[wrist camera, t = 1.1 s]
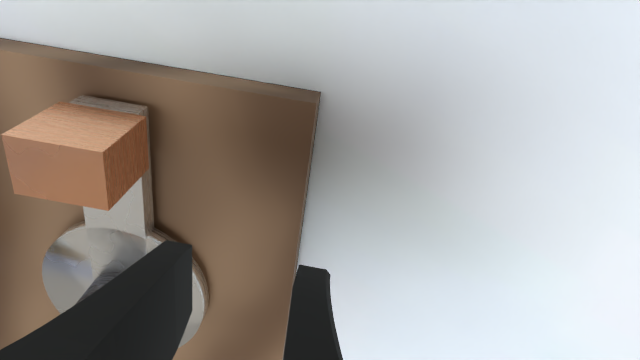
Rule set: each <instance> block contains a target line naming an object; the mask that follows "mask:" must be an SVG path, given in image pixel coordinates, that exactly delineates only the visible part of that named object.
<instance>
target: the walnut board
mask: <svg viewBox="0 0 640 360" xmlns="http://www.w3.org/2000/svg"><path fill="white" fill-rule="evenodd" d="M320 94H321V92H317V91H311V90H305V89H299V88H293V87H287V86H281V85H275V84H269V83H263V82H257V81H252V80H246V79H240V78H234V77H228V76H222V75H216V74H210V73H204V72H198V71H192V70H186V69H180V68H174V67H168V66H162V65H156V64H150V63H145V62H139V61H133V60H127V59H121V58H115V57H109V56H103V55H97V54H91V53H85V52H79V51H73V50H67V49H61V48H55V47H49V46H44V45H38V44H32V43H26V42H20V41H14V40H8V39H2V38H0V350H1V349H3V348H4V347H6V346H8V345H10V344H12V343H14V342H15V341H17V340H19V339H21V338H23V337H24V336H26V335H28V334H29V333H31V332H33V331H34V330H36V329H38V328H40V327H41V326H43V325H44V324H46V323H48V322H49V321H51V320H52V319H54V318H55V317H57V316H59V315H60V313H59V311H58V310H57V309H56V308H55V306H54V305H53V303H52V301H51V300H50V298H49V296H48V294H47V292H46V289H45V286H44V283H43V277H42V264H43V260H44V257H45V254H46V252H47V250H48V249H49V248H50V246H51V245H52V244H53V243H54V242H55V241H56V240H57V239H58V238H59V237H60V236H61V235H62V234H63V233H64V232H65V231H66V230H67V229H68V228H70V227H71V226H73V225H74V224H76V223H78V222H81V221H83V220H85V217H84V210H83V206H79V205H73V204H68V203H62V202H57V201H51V200H46V199H40V198H35V197H29V196H24V195H19V194H14V190H13V185H12V181H11V176H10V172H9V168H8V163H7V159H6V154H5V150H4V145H3V141H2V136H1V134H3V133H5V132H7V131H8V130H10V129H12V128H14V127H15V126H17V125H19V124H21V123H23V122H24V121H26V120H28V119H30V118H31V117H33V116H35V115H37V114H38V113H40V112H42V111H44V110H46V109H47V108H49V107H51V106H53V105H54V104H56V103H58V102H66V103H69V102H71V101H73V100H74V99H76V98H78V97H79V96H81V95H84V96H89V97H95V98H101V99H107V100H113V101H118V102H124V103H130V104H136V105H142V106H147V107H148V118H149V137H150V156H151V175H152V194H153V213H154V228H156V229H158V230H160V231H161V232H163V233H165V234H167V235H168V236H170V237H171V238H172V239H174V240H175V241H176V242H179V243H185V244H190V245H192V257H193V259H194V260H195V261H196V263H197V264H198V266H199V267H200V269H201V271H202V273H203V275H204V277H205V280H206V283H207V287H208V295H209V300H208V307H207V310H206V313H205V316H204V318H203V320H202V322H201V324H200V326H199V328H198V330H197V332H196V334H195V335H194V336H193V337H192V339H190V340H189V341H188V342H187V343H186V344H184V345H182V346H181V347H179V348H178V349H177V351H176V353H175V355H174V357H173V359H172V360H283V355H284V348H285V340H286V333H287V325H288V318H289V311H290V303H291V296H292V288H293V284H294V281H295V277H296V269H297V262H298V255H299V247H300V240H301V233H302V226H303V218H304V211H305V204H306V196H307V189H308V182H309V175H310V167H311V160H312V153H313V145H314V138H315V131H316V124H317V116H318V109H319V102H320Z"/></svg>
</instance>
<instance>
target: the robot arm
mask: <svg viewBox="0 0 640 360" xmlns="http://www.w3.org/2000/svg"><path fill="white" fill-rule="evenodd" d="M191 313H192V245H190V244H185V243H179V242H174V241H168V240H166V241H164V242H163V243H161V244H160V245H158V246H157V247H156V248H154V249H153V250H152V251H150V252H149V253H147V254H146V255H145V256H143V257H142V258H141V259H139V260H138V261H137V262H135V263H134V264H133V265H131V266H130V267H129V268H127V269H126V270H124V271H123V272H122V273H120V274H119V275H118V276H116V277H115V278H113V279H112V280H111V281H109V282H108V283H106V284H105V285H103V286H102V287H101V288H99V289H98V290H96V291H95V292H94V293H92V294H91V295H89V296H88V297H86V298H85V299H83V300H82V301H80V302H79V303H77V304H76V305H74V306H73V307H71V308H69V309H68V310H66V311H65V312H63V313H62V314H60V315H59V316H57V317H55V318H54V319H52V320H51V321H49V322H48V323H46V324H44V325H43V326H41V327H40V328H38V329H36V330H34V331H33V332H31V333H29V334H28V335H26V336H24V337H23V338H21V339H19V340H17V341H15V342H14V343H12V344H10V345H8V346H6V347H4V348H3V349H1V350H0V360H172V359H173V357H174V355H175V353H176V351H177V349H178V347H179V344H180V342H181V339H182V337H183V334H184V332H185V329H186V326H187V324H188V321H189V318H190V316H191ZM283 360H343V358H342V354H341V350H340V346H339V342H338V337H337V333H336V328H335V323H334V318H333V312H332V305H331V296H330V274H329V272H328V271H327V270H325V269H320V268H314V267H309V266H304V265H299V268H298V271H297V274H296V277H295V281H294V284H293V288H292V296H291V303H290V311H289V318H288V325H287V333H286V340H285V348H284V355H283Z"/></svg>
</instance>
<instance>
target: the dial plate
mask: <svg viewBox="0 0 640 360" xmlns="http://www.w3.org/2000/svg"><path fill="white" fill-rule="evenodd" d="M1 136H2V141H3V145H4V150H5V154H6V159H7V163H8V168H9V172H10V176H11V181H12V185H13V190H14V194H19V195H24V196H29V197H35V198H40V199H46V200H51V201H57V202H62V203H68V204H73V205H79V206H83V210H84V217H85V220H83V221H81V222H78V223H76V224H74V225H73V226H71V227H70V228H68V229H67V230H66V231H65V232H64V233H63V234H62V235H61V236H60V237H59V238H58V239H57V240H56V241H55V242H54V243H53V244H52V245H51V246H50V248H49V249H48V250H47V252H46V254H45V257H44V260H43V264H42V277H43V283H44V286H45V289H46V292H47V294H48V296H49V298H50V300H51V301H52V303H53V305H54V306H55V308H56V309H57V310H58V311H59V313H60V314H62V313H63V312H65V311H66V310H68V309H69V308H71V307H73V306H74V305H76V304H77V303H79V302H80V301H82V300H83V299H85V298H86V297H88V296H89V295H91V294H92V293H94V292H95V291H96V290H98V289H99V288H101V287H102V286H103V285H105V284H106V283H108V282H109V281H111V280H112V279H113V278H115V277H116V276H118V275H119V274H120V273H122V272H123V271H124V270H126V269H127V268H129V267H130V266H131V265H133V264H134V263H135V262H137V261H138V260H139V259H141V258H142V257H143V256H145V255H146V254H147V253H149V252H150V251H152V250H153V249H154V248H156V247H157V246H158V245H160V244H161V243H163V242H164V241H166V240H168V241H174V242H176V241H175V240H174V239H172V238H171V237H170V236H168V235H167V234H165V233H163V232H161V231H160V230H158V229H156V228H154V213H153V194H152V175H151V156H150V137H149V118H148V107H147V106H142V105H136V104H130V103H124V102H118V101H113V100H107V99H101V98H95V97H89V96H84V95H81V96H79V97H78V98H76V99H74V100H73V101H71V102H69V103H66V102H58V103H56V104H54V105H53V106H51V107H49V108H47V109H46V110H44V111H42V112H40V113H38V114H37V115H35V116H33V117H31V118H30V119H28V120H26V121H24V122H23V123H21V124H19V125H17V126H15V127H14V128H12V129H10V130H8V131H7V132H5V133H3V134H1ZM208 300H209V295H208V287H207V283H206V280H205V277H204V275H203V273H202V271H201V269H200V267H199V266H198V264H197V263H196V261H195V260H194V259H193V257H192V313H191V316H190V318H189V321H188V324H187V326H186V329H185V332H184V334H183V337H182V339H181V342H180V344H179V347H181V346H182V345H184V344H186V343H187V342H188V341H189V340H190V339H192V337H193V336H194V335H195V334H196V332H197V330H198V328H199V326H200V324H201V322H202V320H203V318H204V316H205V313H206V310H207V307H208ZM179 347H178V348H179Z"/></svg>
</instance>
